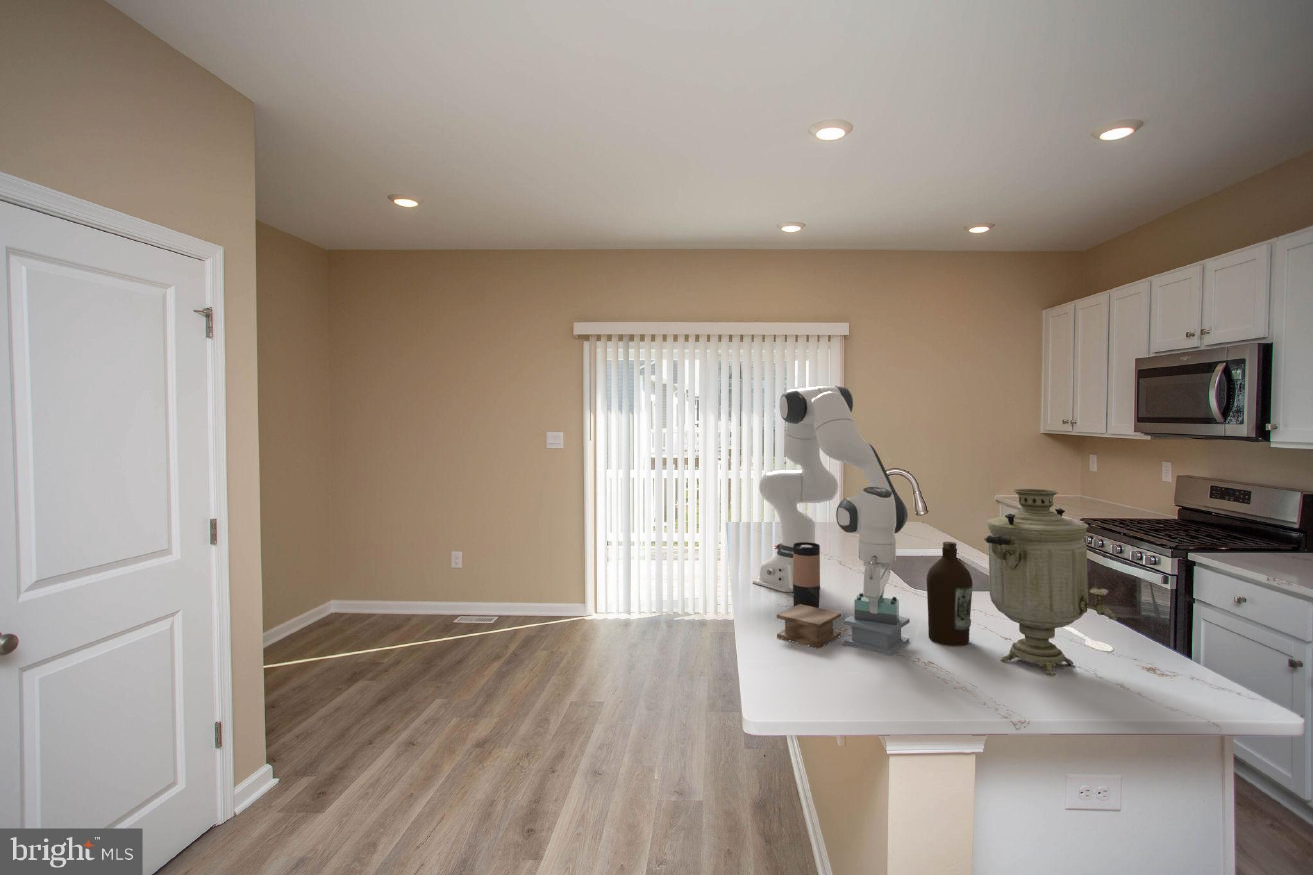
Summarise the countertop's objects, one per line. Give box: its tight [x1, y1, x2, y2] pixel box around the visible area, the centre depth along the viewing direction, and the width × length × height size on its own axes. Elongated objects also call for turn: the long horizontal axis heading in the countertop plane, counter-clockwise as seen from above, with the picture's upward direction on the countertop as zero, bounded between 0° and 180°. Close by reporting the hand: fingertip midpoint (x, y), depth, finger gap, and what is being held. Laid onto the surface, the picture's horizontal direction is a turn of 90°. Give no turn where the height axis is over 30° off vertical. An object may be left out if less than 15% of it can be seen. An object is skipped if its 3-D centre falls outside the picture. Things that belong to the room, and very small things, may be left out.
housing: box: [853, 592, 900, 625], centre depth 159 cm, size 10×5×6 cm, turn 63°
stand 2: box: [843, 614, 910, 657], centre depth 159 cm, size 12×12×6 cm
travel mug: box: [792, 542, 821, 608], centre depth 183 cm, size 8×8×20 cm
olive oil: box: [926, 541, 973, 647], centre depth 161 cm, size 11×11×25 cm
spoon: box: [1062, 626, 1114, 653], centre depth 162 cm, size 5×18×1 cm, turn 176°
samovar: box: [984, 488, 1117, 677], centre depth 143 cm, size 30×26×40 cm
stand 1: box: [776, 604, 842, 649], centre depth 164 cm, size 12×12×6 cm
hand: (876, 607), depth 159 cm, fingers open, 8 cm apart
